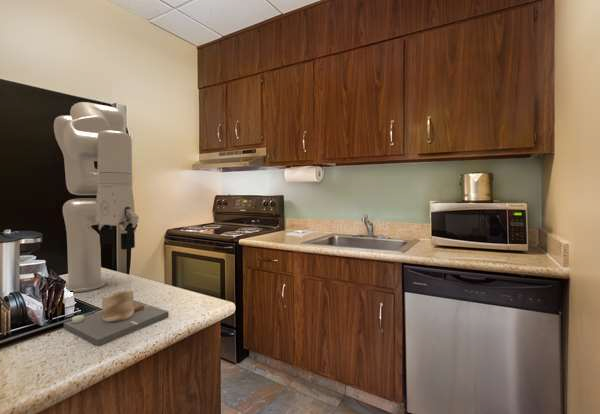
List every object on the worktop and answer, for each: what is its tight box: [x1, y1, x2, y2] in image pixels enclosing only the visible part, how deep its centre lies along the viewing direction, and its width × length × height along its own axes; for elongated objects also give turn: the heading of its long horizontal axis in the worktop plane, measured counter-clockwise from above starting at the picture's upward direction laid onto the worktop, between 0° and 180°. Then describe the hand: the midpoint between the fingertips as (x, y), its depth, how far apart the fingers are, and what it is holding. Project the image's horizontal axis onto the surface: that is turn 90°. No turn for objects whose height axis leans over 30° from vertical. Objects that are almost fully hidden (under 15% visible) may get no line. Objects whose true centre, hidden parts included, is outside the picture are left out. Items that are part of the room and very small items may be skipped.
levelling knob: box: [101, 288, 144, 323], centre depth 79 cm, size 10×7×6 cm
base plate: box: [63, 299, 169, 347], centre depth 78 cm, size 16×18×3 cm
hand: (117, 246), depth 77 cm, fingers open, 9 cm apart
